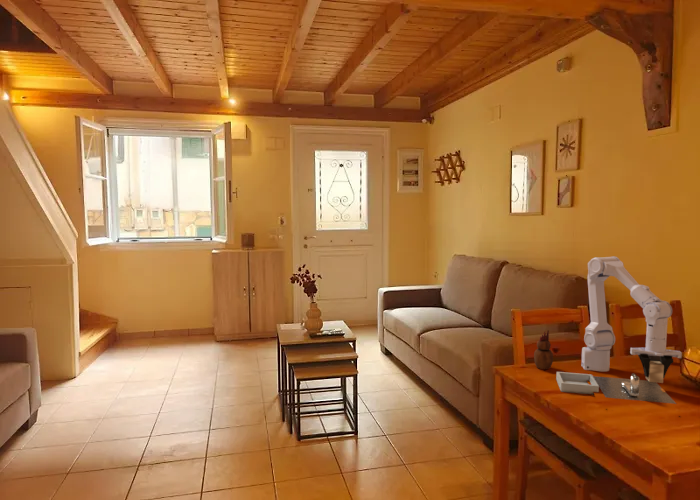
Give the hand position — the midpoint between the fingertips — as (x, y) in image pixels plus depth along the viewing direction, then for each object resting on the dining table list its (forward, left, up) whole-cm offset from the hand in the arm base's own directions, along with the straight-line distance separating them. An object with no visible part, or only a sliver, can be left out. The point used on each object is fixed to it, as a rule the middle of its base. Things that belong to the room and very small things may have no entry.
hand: (654, 376), depth 159 cm
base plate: (-7, -1, -6) cm, 9 cm away
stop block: (0, 0, -1) cm, 1 cm away
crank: (-8, -4, -4) cm, 10 cm away
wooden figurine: (-33, +17, -6) cm, 37 cm away
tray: (-24, -1, -6) cm, 25 cm away
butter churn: (+12, +39, -6) cm, 41 cm away
